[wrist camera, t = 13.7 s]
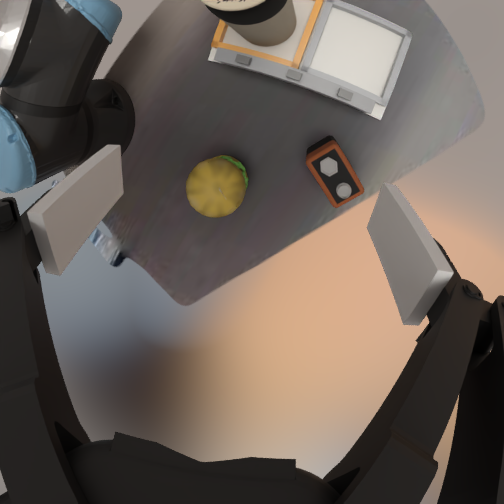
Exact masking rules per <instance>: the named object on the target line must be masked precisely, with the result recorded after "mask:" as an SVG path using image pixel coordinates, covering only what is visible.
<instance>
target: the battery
mask: <svg viewBox="0 0 504 504" xmlns="http://www.w3.org/2000/svg"><path fill="white" fill-rule="evenodd" d="M306 165H307V166H308V168H309V170H310V171H311V173H312V174H313V176H314V177H315V179H316V180H317V182H318V183H319V185H320V187H321V188H322V190H323V191H324V193H325V194H326V196H327V198H328V199H329V201H330V202H331V204H332V205H333V207H335V208H337V207H339V206H341V205H343V204H345V203H347V202H348V201H350V200H352V199H354V198H356V197H357V196H359V195H361V194H363V193H364V188H363V186H362V184H361V182H360V180H359V179H358V177H357V175H356V173H355V171H354V170H353V168H352V166H351V165H350V163H349V161H348V160H347V158H346V156H345V155H344V153H343V151H342V150H341V148H340V147H339V145H338V143H337V142H336V140H335V139H334V137H333V136H328V137H326V138H324V139H323V140H321V141H319V142H318V143H316V144H314V145H313V146H311V147H309V148H308V149H307V155H306Z"/></svg>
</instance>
